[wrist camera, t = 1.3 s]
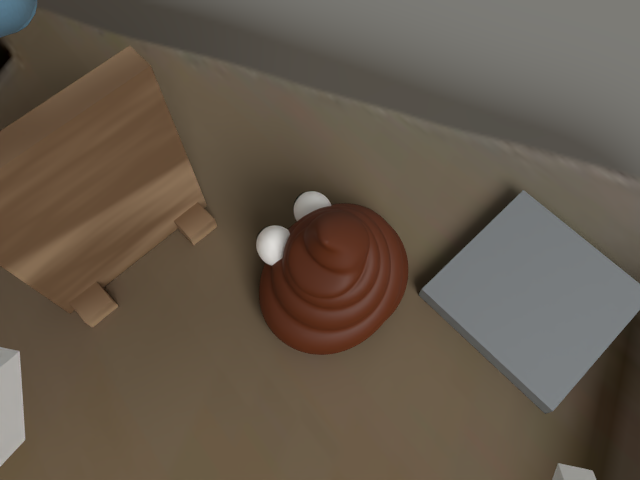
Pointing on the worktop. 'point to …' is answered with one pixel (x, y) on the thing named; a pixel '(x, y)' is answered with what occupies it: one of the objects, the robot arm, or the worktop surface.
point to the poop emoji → (330, 275)
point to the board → (534, 300)
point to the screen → (94, 186)
